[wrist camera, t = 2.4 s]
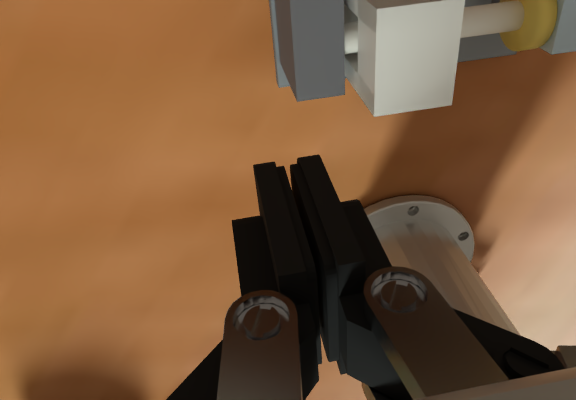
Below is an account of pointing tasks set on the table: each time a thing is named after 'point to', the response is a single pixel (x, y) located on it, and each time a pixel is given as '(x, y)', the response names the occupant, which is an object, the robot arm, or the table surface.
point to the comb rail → (344, 37)
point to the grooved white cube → (404, 53)
